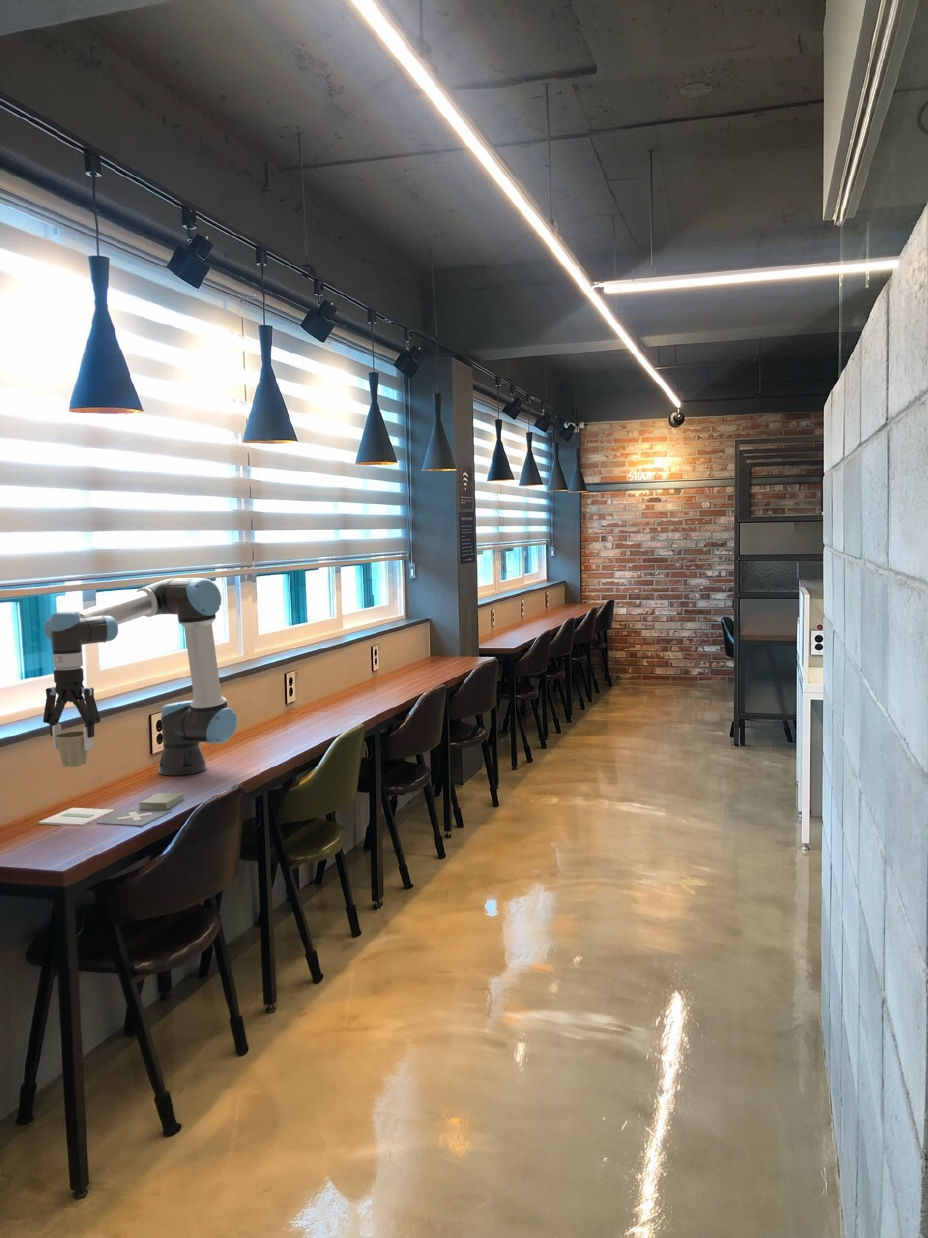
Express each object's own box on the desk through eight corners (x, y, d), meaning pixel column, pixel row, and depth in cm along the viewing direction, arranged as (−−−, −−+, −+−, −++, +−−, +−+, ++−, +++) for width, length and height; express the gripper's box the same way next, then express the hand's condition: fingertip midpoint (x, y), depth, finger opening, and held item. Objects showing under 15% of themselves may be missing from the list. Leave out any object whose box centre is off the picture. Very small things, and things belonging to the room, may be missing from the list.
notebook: (157, 800, 280) (156, 793, 280) (183, 800, 280) (183, 793, 280) (139, 809, 268) (139, 802, 268) (166, 809, 268) (166, 802, 268)
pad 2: (128, 810, 270) (128, 807, 270) (171, 812, 267) (171, 810, 266) (97, 825, 257) (96, 822, 257) (142, 827, 253) (142, 824, 253)
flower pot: (49, 766, 262) (47, 735, 262) (81, 759, 270) (79, 729, 269) (67, 770, 257) (65, 738, 256) (99, 763, 264) (97, 732, 263)
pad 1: (72, 809, 273) (72, 807, 273) (114, 812, 269) (114, 809, 269) (38, 823, 259) (38, 821, 259) (82, 826, 256) (82, 823, 256)
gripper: (25, 669, 260) (30, 750, 262) (94, 670, 254) (99, 752, 256) (43, 666, 268) (48, 744, 269) (111, 666, 262) (116, 746, 263)
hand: (73, 748), depth 263 cm, fingers closed on flower pot, 9 cm apart
